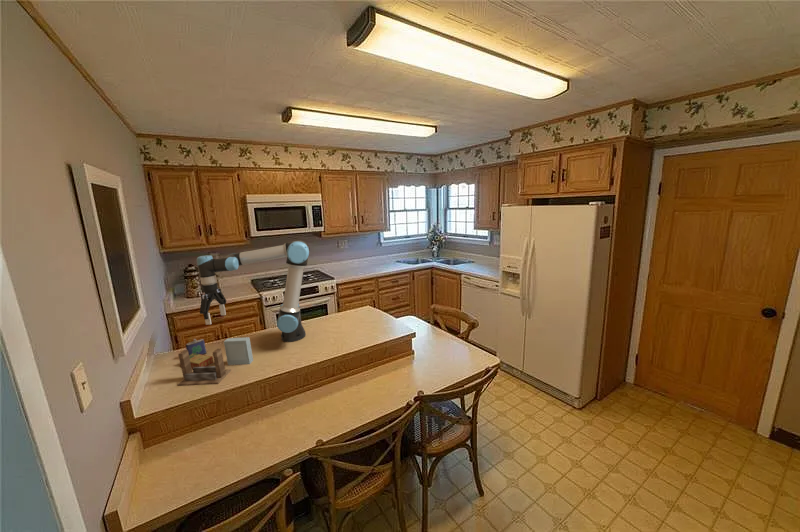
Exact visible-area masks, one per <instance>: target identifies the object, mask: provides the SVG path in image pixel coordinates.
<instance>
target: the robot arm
mask: <svg viewBox="0 0 800 532" xmlns="http://www.w3.org/2000/svg"><path fill="white" fill-rule="evenodd" d="M310 251H311V250H310V245H309V243H308V242H307V241H305V240H303V239H296V240H293V241H289V242H285V243H284V244H281V245H276V246H271V247H264V248H260V249H254V250H248V251H243V252H242V251H241V252H236V253H235V252H232V253H229V254H228V255H226V256H224V257H218V258H214V257H213V255H209V254H208V255H200V256H198V257H196V266H197V269H198V274H199V279H200V284H201V288H202V289H201V290H202V292H203V293H204V294H201V295H200V307H199V308H200V309H199V314H200V315H203V318H204V321H205V325H206V326H207V325H212V319H211V314H210V312H209V310H210V307H211V303H212V302H213V300H215V302H218V303H219V304H218V306H219V313H220V316H226V315H227V312H226V307H225V304H227V299H226V297H225V295H224V294H223V292H222V289H221V288H219V286H218V283H217V282H218V279H217V275H216V274H217V273H220V272H221V273H222V272H232V271H237V270H238V269H239V267H240V266H241V267H242V266H245V265H250V264H256V263H261V262H262V263H263V262H265V261H271V260H278V259H282V258H286V264H285V265H287V268H288V269H287V274H286V279H285V287H284V295H283V303H282V304H280V305H279V310H278V311H279V312H278V318H277V320H276V326H277V329H278V330H279V331H280V332H281V335H280V338H281V341H282V342H285V343H287V342H288V343H291V342H296V341H301V340H302V339H304V338H305V337H306V335H307V334H306V330H305V328H304V326H303V324H302V316H301V309H300V307H301V306H300V295H301V289H302V285H303V284H302V282H303V276H304V269H305V268H307V266H308V261H309V260H308V259H309V255H310Z"/></svg>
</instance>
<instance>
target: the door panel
mask: <svg viewBox="0 0 800 532" xmlns="http://www.w3.org/2000/svg"><path fill="white" fill-rule="evenodd" d="M223 347H224V351H225V357H226V362H227V366H238V365H239V366H241V365H251V364H252V363H253V362H254V357H253V350H252V345H251V339H250V336H249V337H247V336H246V337H231V338H227V339H225V340H224V341H223Z"/></svg>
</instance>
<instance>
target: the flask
mask: <svg viewBox="0 0 800 532" xmlns="http://www.w3.org/2000/svg"><path fill="white" fill-rule="evenodd" d="M185 348H186V349H185V350H188V353H189V355H190V354H192V353H197V354H202V355H207V349H206V344H205V339H203V338H201V339H198V340H197V339H196V338H193V341H191V342H187V343H185Z"/></svg>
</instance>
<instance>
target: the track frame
mask: <svg viewBox="0 0 800 532" xmlns="http://www.w3.org/2000/svg"><path fill="white" fill-rule="evenodd" d="M212 357H213V361H214V363H213V364H214V365H212V366H210V365H208V366H206V367H193V368H192V367H191V363H190V358H189V353H188V350H187V349H184V350H182V351H181V352H179V353H178V358H179V364H180V368H181V369H180V370H181V373H182V378H183V379H182V380H181V381H179V382H178V383H177V387H181V386H183V387H184V386H199V385H201V386H203V385H204V386H205V385H219V383H220V382H222V380H224V379H225V378H226V376H228V375H229V373H230V372H232V369H231V368H228V369H226V367H225V362H224V356H223V352H222V348H216V349H215V350H214V351H212Z"/></svg>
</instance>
